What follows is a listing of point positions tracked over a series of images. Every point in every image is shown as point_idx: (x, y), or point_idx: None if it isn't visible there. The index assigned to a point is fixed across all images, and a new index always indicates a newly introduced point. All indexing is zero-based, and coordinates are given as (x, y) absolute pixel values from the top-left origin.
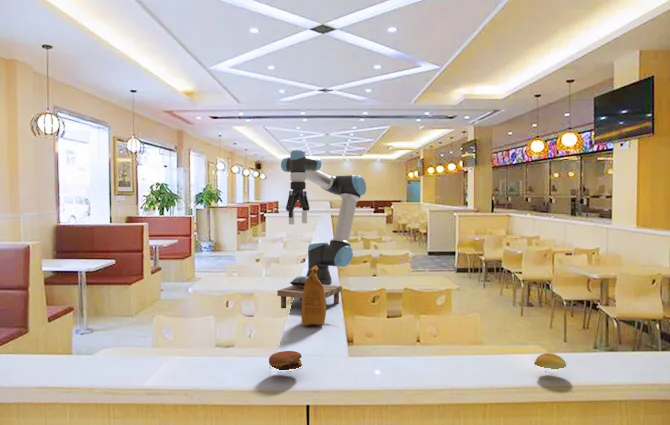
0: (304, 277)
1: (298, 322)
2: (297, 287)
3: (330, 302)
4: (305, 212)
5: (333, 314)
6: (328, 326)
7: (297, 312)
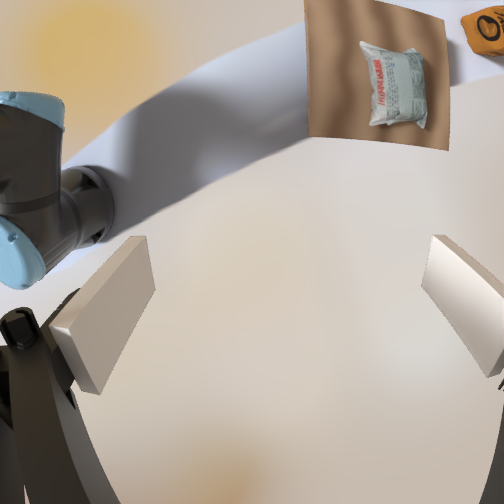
0: (416, 79)
1: (492, 62)
2: None
3: None
4: (90, 323)
5: (419, 4)
6: None
7: None
